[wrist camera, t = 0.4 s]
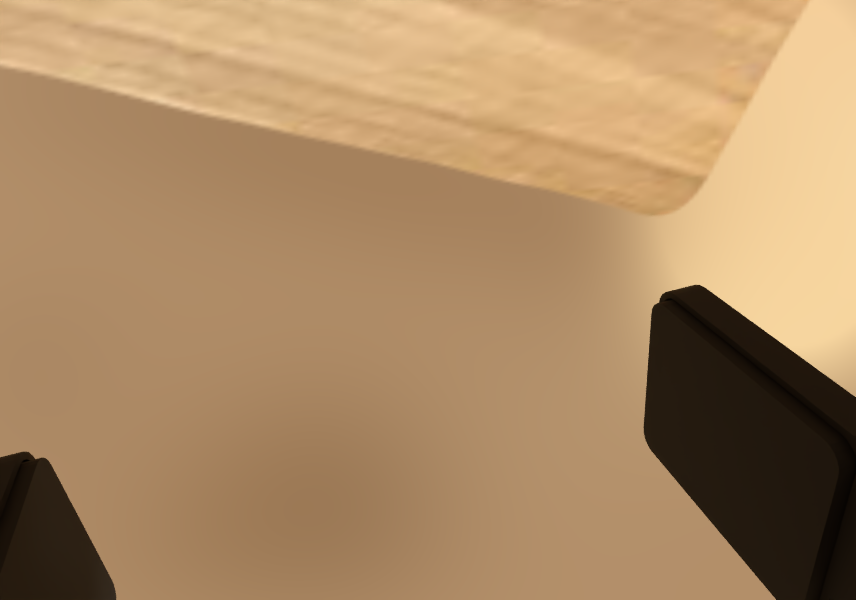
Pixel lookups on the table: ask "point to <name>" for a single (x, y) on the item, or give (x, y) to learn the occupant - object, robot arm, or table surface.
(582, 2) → the table surface
